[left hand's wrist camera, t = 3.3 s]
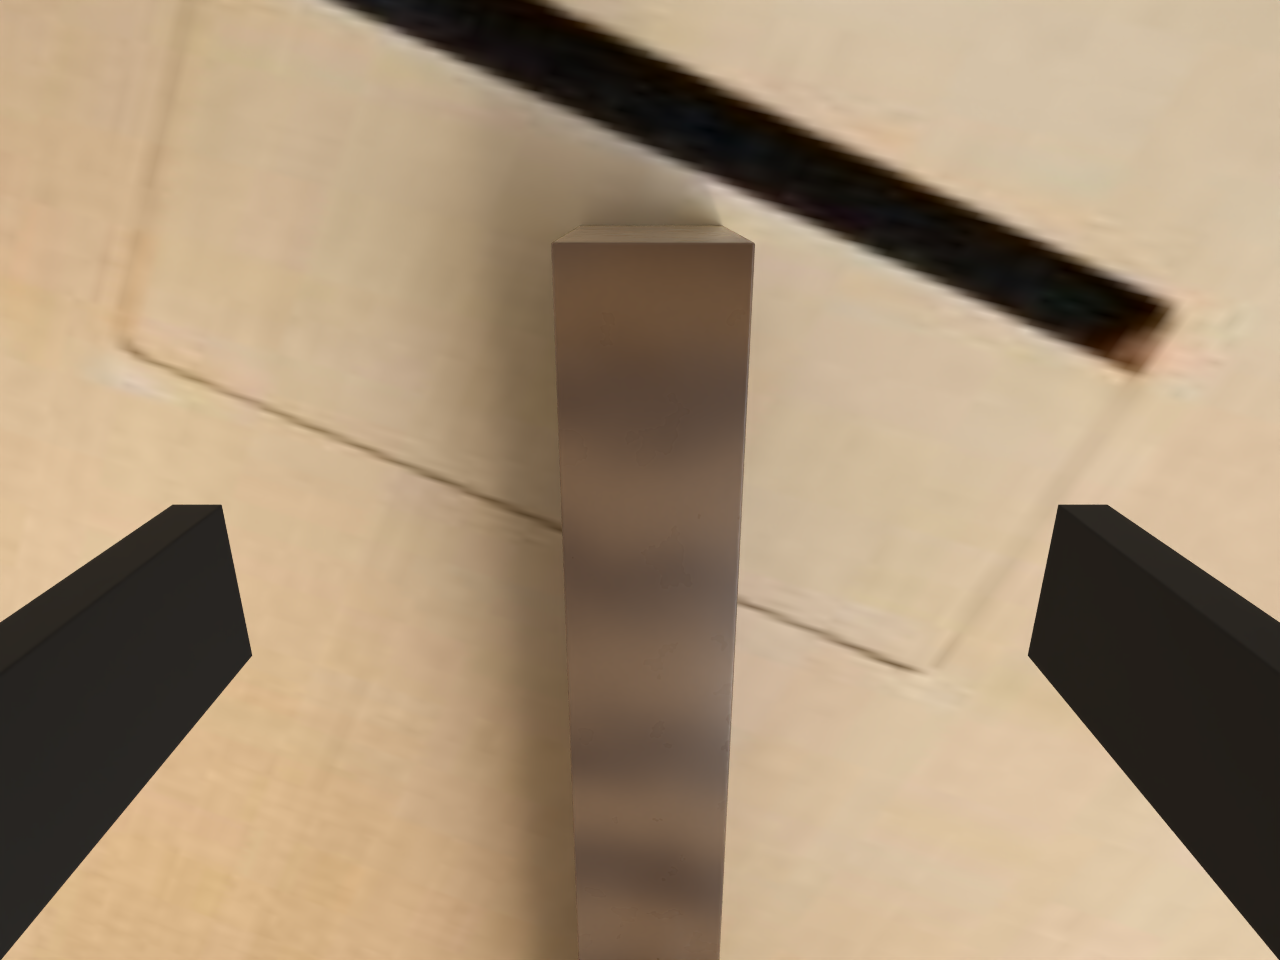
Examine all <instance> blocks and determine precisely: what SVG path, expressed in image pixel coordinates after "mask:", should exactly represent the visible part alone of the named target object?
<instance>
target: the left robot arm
mask: <svg viewBox="0 0 1280 960" xmlns="http://www.w3.org/2000/svg"><path fill="white" fill-rule="evenodd" d="M251 656H252V652H251V647H250V643H249V638H248V633H247V628H246V623H245V618H244V613H243V608H242V603H241V598H240V593H239V588H238V583H237V578H236V574H235V569H234V564H233V559H232V554H231V549H230V544H229V539H228V534H227V529H226V524H225V519H224V514H223V509H222V505H172V506H170V507H169V508H167V509H166V510H164V511H163V512H161V513H160V514H158V515H157V516H156V517H154V518H153V519H151V520H150V521H148V522H147V523H145V524H144V525H142V526H141V527H139V528H138V529H136V530H135V531H134V532H132V533H131V534H129V535H128V536H126V537H125V538H123V539H122V540H120V541H119V542H117V543H116V544H115V545H113V546H112V547H110V548H109V549H107V550H106V551H104V552H103V553H101V554H100V555H98V556H97V557H95V558H94V559H93V560H91V561H90V562H88V563H87V564H85V565H84V566H82V567H81V568H79V569H78V570H76V571H75V572H74V573H72V574H71V575H69V576H68V577H66V578H65V579H63V580H62V581H60V582H59V583H57V584H56V585H55V586H53V587H52V588H50V589H49V590H47V591H46V592H44V593H43V594H41V595H40V596H38V597H37V598H35V599H34V600H33V601H31V602H30V603H28V604H27V605H25V606H24V607H22V608H21V609H19V610H18V611H16V612H15V613H14V614H12V615H11V616H9V617H8V618H6V619H5V620H3V621H2V622H0V960H1V959H2V958H3V957H4V956H5V954H6V953H7V952H8V951H9V949H10V948H11V947H12V946H13V945H14V943H15V942H16V941H17V940H18V939H19V937H20V936H21V935H22V934H23V933H24V931H25V930H26V929H27V928H28V926H29V925H30V924H31V923H32V922H33V920H34V919H35V918H36V917H37V916H38V914H39V913H40V912H41V911H42V909H43V908H44V907H45V906H46V905H47V903H48V902H49V901H50V900H51V899H52V897H53V896H54V895H55V894H56V893H57V891H58V890H59V889H60V888H61V886H62V885H63V884H64V883H65V882H66V880H67V879H68V878H69V877H70V876H71V874H72V873H73V872H74V871H75V870H76V868H77V867H78V866H79V865H80V863H81V862H82V861H83V860H84V859H85V857H86V856H87V855H88V854H89V853H90V851H91V850H92V849H93V848H94V846H95V845H96V844H97V843H98V842H99V840H100V839H101V838H102V837H103V836H104V834H105V833H106V832H107V831H108V830H109V828H110V827H111V826H112V825H113V823H114V822H115V821H116V820H117V819H118V817H119V816H120V815H121V814H122V813H123V811H124V810H125V809H126V808H127V806H128V805H129V804H130V803H131V802H132V800H133V799H134V798H135V797H136V796H137V794H138V793H139V792H140V791H141V790H142V788H143V787H144V786H145V785H146V783H147V782H148V781H149V780H150V779H151V777H152V776H153V775H154V774H155V773H156V771H157V770H158V769H159V768H160V767H161V765H162V764H163V763H164V762H165V760H166V759H167V758H168V757H169V756H170V754H171V753H172V752H173V751H174V750H175V748H176V747H177V746H178V745H179V743H180V742H181V741H182V740H183V739H184V737H185V736H186V735H187V734H188V733H189V731H190V730H191V729H192V728H193V727H194V725H195V724H196V723H197V722H198V720H199V719H200V718H201V717H202V716H203V714H204V713H205V712H206V711H207V710H208V708H209V707H210V706H211V705H212V703H213V702H214V701H215V700H216V699H217V697H218V696H219V695H220V694H221V693H222V691H223V690H224V689H225V688H226V687H227V685H228V684H229V683H230V682H231V680H232V679H233V678H234V677H235V676H236V674H237V673H238V672H239V671H240V670H241V668H242V667H243V666H244V665H245V664H246V662H247V661H248V660H249V659H250V657H251ZM1028 656H1029V657H1030V659H1031V660H1032V661H1033V662H1034V664H1035V665H1036V666H1037V667H1038V668H1039V670H1040V671H1041V672H1042V673H1043V674H1044V676H1045V677H1046V678H1047V679H1048V680H1049V682H1050V683H1051V684H1052V685H1053V687H1054V688H1055V689H1056V690H1057V691H1058V693H1059V694H1060V695H1061V696H1062V697H1063V699H1064V700H1065V701H1066V702H1067V704H1068V705H1069V706H1070V707H1071V708H1072V710H1073V711H1074V712H1075V713H1076V714H1077V716H1078V717H1079V718H1080V719H1081V720H1082V722H1083V723H1084V724H1085V725H1086V727H1087V728H1088V729H1089V730H1090V731H1091V733H1092V734H1093V735H1094V736H1095V737H1096V739H1097V740H1098V741H1099V742H1100V743H1101V745H1102V746H1103V747H1104V748H1105V750H1106V751H1107V752H1108V753H1109V754H1110V756H1111V757H1112V758H1113V759H1114V760H1115V762H1116V763H1117V764H1118V765H1119V767H1120V768H1121V769H1122V770H1123V771H1124V773H1125V774H1126V775H1127V776H1128V777H1129V779H1130V780H1131V781H1132V782H1133V783H1134V785H1135V786H1136V787H1137V788H1138V790H1139V791H1140V792H1141V793H1142V794H1143V796H1144V797H1145V798H1146V799H1147V800H1148V802H1149V803H1150V804H1151V805H1152V806H1153V808H1154V809H1155V810H1156V811H1157V813H1158V814H1159V815H1160V816H1161V817H1162V819H1163V820H1164V821H1165V822H1166V823H1167V825H1168V826H1169V827H1170V828H1171V830H1172V831H1173V832H1174V833H1175V834H1176V836H1177V837H1178V838H1179V839H1180V840H1181V842H1182V843H1183V844H1184V845H1185V846H1186V848H1187V849H1188V850H1189V851H1190V853H1191V854H1192V855H1193V856H1194V857H1195V859H1196V860H1197V861H1198V862H1199V863H1200V865H1201V866H1202V867H1203V868H1204V870H1205V871H1206V872H1207V873H1208V874H1209V876H1210V877H1211V878H1212V879H1213V880H1214V882H1215V883H1216V884H1217V885H1218V886H1219V888H1220V889H1221V890H1222V891H1223V893H1224V894H1225V895H1226V896H1227V897H1228V899H1229V900H1230V901H1231V902H1232V903H1233V905H1234V906H1235V907H1236V908H1237V909H1238V911H1239V912H1240V913H1241V914H1242V916H1243V917H1244V918H1245V919H1246V920H1247V922H1248V923H1249V924H1250V925H1251V926H1252V928H1253V929H1254V930H1255V931H1256V933H1257V934H1258V935H1259V936H1260V937H1261V939H1262V940H1263V941H1264V942H1265V943H1266V945H1267V946H1268V947H1269V948H1270V949H1271V951H1272V952H1273V953H1274V954H1275V956H1276V957H1277V958H1278V959H1279V960H1280V622H1278V621H1277V620H1275V619H1274V618H1272V617H1271V616H1269V615H1268V614H1266V613H1265V612H1264V611H1262V610H1261V609H1259V608H1258V607H1256V606H1255V605H1253V604H1252V603H1250V602H1249V601H1247V600H1246V599H1245V598H1243V597H1242V596H1240V595H1239V594H1237V593H1236V592H1234V591H1233V590H1231V589H1230V588H1228V587H1227V586H1225V585H1224V584H1223V583H1221V582H1220V581H1218V580H1217V579H1215V578H1214V577H1212V576H1211V575H1209V574H1208V573H1206V572H1205V571H1204V570H1202V569H1201V568H1199V567H1198V566H1196V565H1195V564H1193V563H1192V562H1190V561H1189V560H1187V559H1186V558H1185V557H1183V556H1182V555H1180V554H1179V553H1177V552H1176V551H1174V550H1173V549H1171V548H1170V547H1168V546H1167V545H1165V544H1164V543H1163V542H1161V541H1160V540H1158V539H1157V538H1155V537H1154V536H1152V535H1151V534H1149V533H1148V532H1146V531H1145V530H1144V529H1142V528H1141V527H1139V526H1138V525H1136V524H1135V523H1133V522H1132V521H1130V520H1129V519H1127V518H1126V517H1124V516H1123V515H1122V514H1120V513H1119V512H1117V511H1116V510H1114V509H1113V508H1111V507H1110V506H1108V505H1058V509H1057V514H1056V519H1055V524H1054V529H1053V534H1052V539H1051V544H1050V549H1049V554H1048V559H1047V564H1046V569H1045V574H1044V578H1043V583H1042V588H1041V593H1040V598H1039V603H1038V608H1037V613H1036V618H1035V623H1034V628H1033V633H1032V638H1031V642H1030V647H1029V652H1028Z"/></svg>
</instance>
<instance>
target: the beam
mask: <svg viewBox="0 0 1280 960" xmlns="http://www.w3.org/2000/svg"><path fill="white" fill-rule="evenodd" d="M551 249H552V275H553V301H554V327H555V353H556V380H557V406H558V432H559V458H560V484H561V510H562V536H563V562H564V589H565V615H566V641H567V667H568V693H569V719H570V745H571V771H572V798H573V824H574V850H575V876H576V902H577V928H578V954H579V960H719V957H720V937H721V916H722V896H723V876H724V856H725V836H726V816H727V796H728V776H729V756H730V735H731V715H732V695H733V675H734V655H735V635H736V615H737V595H738V575H739V554H740V534H741V514H742V494H743V474H744V454H745V434H746V414H747V394H748V373H749V353H750V333H751V313H752V293H753V273H754V253H755V244H754V243H753V242H751V241H749V240H748V239H746V238H744V237H742V236H740V235H739V234H737V233H735V232H733V231H731V230H730V229H728V228H726V227H724V226H579V227H577V228H576V229H574V230H572V231H571V232H569V233H567V234H566V235H564V236H563V237H561V238H559V239H558V240H556V241H554V242H553V243H552V244H551Z"/></svg>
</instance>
